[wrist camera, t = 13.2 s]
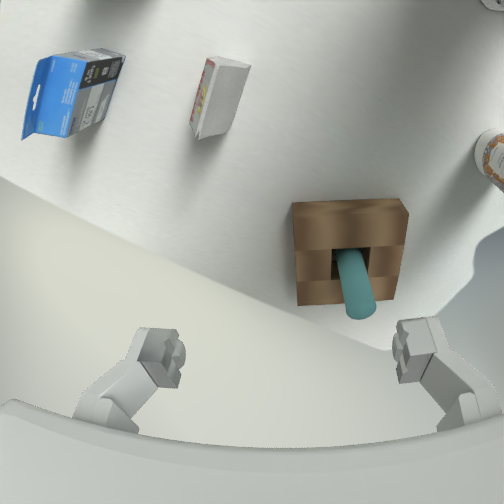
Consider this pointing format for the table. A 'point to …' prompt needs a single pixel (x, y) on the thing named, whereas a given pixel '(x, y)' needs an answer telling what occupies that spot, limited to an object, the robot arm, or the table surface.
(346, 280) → the peg
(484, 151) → the bath foam
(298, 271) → the socket block
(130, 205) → the table surface
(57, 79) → the label tape box
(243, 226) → the table surface
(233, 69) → the white carton
